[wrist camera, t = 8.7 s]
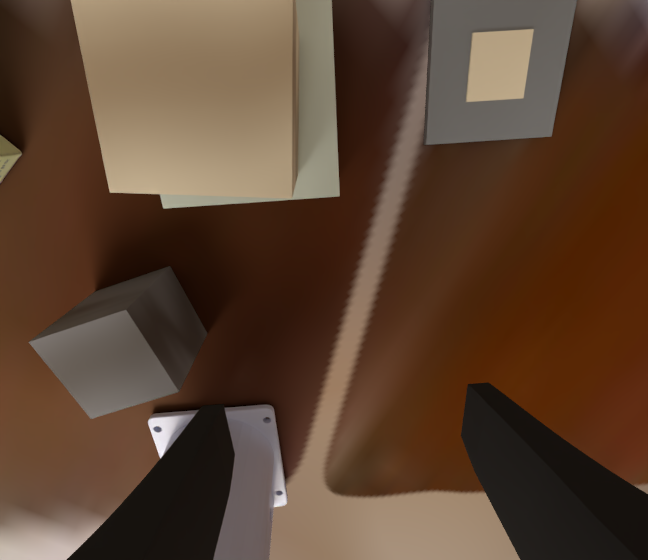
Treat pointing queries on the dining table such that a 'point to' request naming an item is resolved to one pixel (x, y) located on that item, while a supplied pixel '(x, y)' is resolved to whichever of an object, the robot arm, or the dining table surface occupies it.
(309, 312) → the dining table surface
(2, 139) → the box
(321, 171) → the grey-green pedestal
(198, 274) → the dining table surface
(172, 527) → the robot arm
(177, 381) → the gray block
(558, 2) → the tile
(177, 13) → the birch block
